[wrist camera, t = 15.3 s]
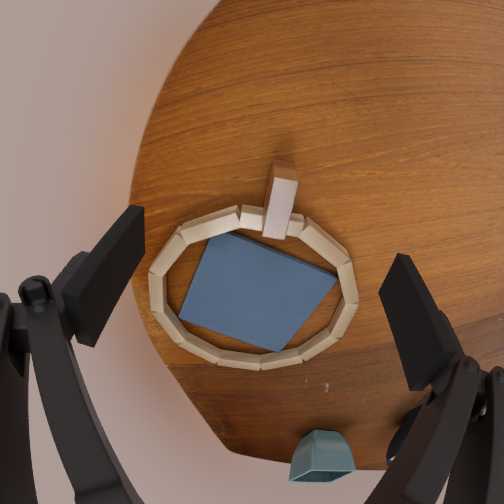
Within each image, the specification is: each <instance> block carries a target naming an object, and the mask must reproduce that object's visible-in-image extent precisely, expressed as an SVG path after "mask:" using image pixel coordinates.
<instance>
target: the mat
mask: <svg viewBox="0 0 504 504" xmlns="http://www.w3.org/2000/svg"><path fill="white" fill-rule="evenodd" d="M337 280H338V277H337V275H335V274H333V273H330V272H328V271H325V270H323V269H321V268H318V267H316V266H314V265H311V264H309V263H307V262H304V261H302V260H299V259H297V258H295V257H292V256H290V255H287V254H285V253H283V252H280V251H278V250H276V249H273V248H271V247H268V246H266V245H264V244H261V243H259V242H256V241H254V240H251V239H249V238H247V237H244V236H242V235H239V234H237V233H235V232H232V231H229V232H226V233H223V234H220V235H216V236H213V237H210V239H209V241H208V243H207V246H206V248H205V251H204V253H203V255H202V258H201V260H200V263H199V265H198V268H197V270H196V272H195V275H194V277H193V280H192V282H191V285H190V287H189V290H188V292H187V295H186V297H185V300H184V303H183V305H182V308H181V310H180V313H179V316H178V318H180V319H183V320H185V321H188V322H191V323H193V324H196V325H199V326H201V327H204V328H207V329H209V330H212V331H215V332H218V333H220V334H223V335H226V336H229V337H232V338H235V339H238V340H241V341H244V342H246V343H249V344H252V345H256V346H259V347H262V348H265V349H268V350H271V351H274V352H277V353H279V352H280V351H281V350H282V349H283V348H284V346H285V345H286V344H287V343H288V342H289V340H290V339H291V338H292V337H293V336H294V334H295V333H296V332H297V331H298V330H299V328H300V327H301V326H302V325H303V323H304V322H305V321H306V320H307V318H308V317H309V316H310V315H311V313H312V312H313V311H314V310H315V308H316V307H317V306H318V305H319V303H320V302H321V301H322V300H323V298H324V297H325V296H326V294H327V293H328V292H329V290H330V289H331V288H332V287H333V285H334V284H335V283H336V281H337Z"/></svg>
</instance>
